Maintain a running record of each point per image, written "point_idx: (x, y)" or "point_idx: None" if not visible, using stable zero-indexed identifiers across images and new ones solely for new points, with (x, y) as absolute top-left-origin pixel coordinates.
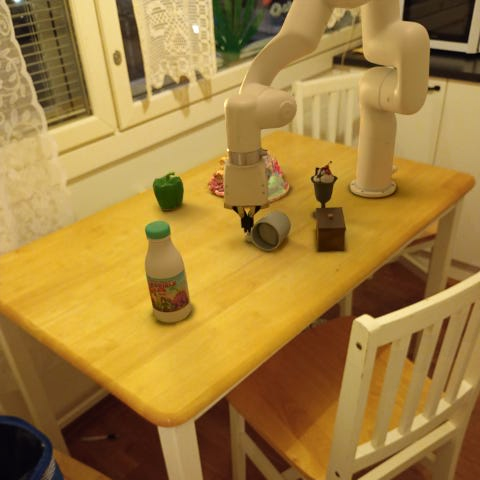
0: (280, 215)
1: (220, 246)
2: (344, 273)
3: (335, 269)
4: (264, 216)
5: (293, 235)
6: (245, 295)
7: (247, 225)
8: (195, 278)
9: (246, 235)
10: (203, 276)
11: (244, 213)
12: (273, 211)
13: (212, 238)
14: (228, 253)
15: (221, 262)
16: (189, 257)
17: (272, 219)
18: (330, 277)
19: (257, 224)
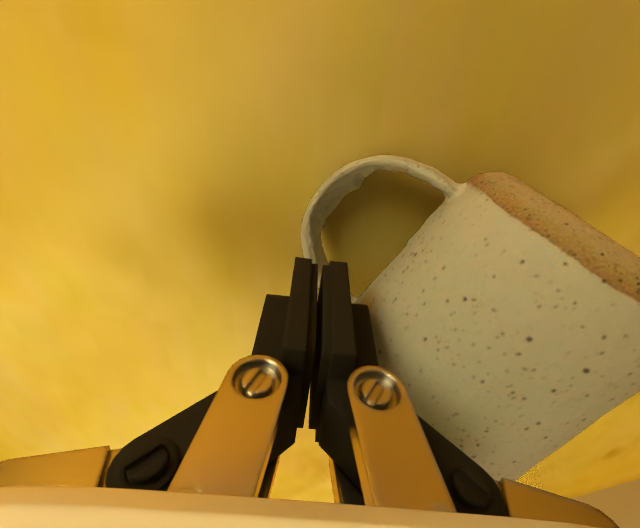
0: (632, 394)
1: (158, 246)
2: (622, 466)
3: (610, 450)
4: (479, 380)
5: (616, 197)
6: (293, 493)
7: (311, 376)
8: (121, 425)
9: (306, 244)
10: (146, 421)
11: (282, 450)
12: (615, 333)
13: (75, 141)
14: (214, 312)
15: (194, 365)
16: (30, 313)
17: (520, 469)
18: (565, 473)
19: (393, 348)
